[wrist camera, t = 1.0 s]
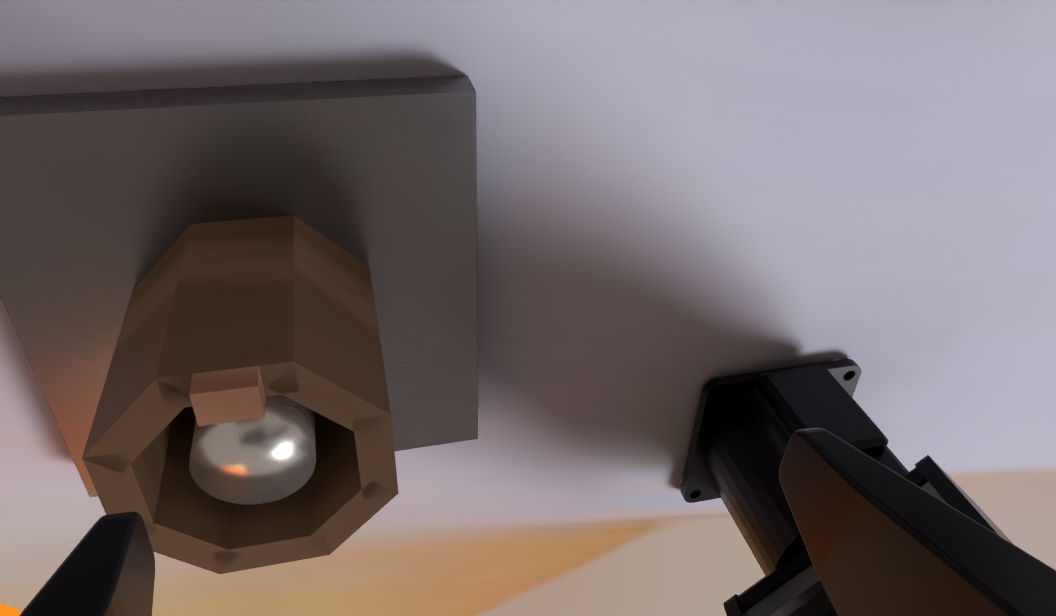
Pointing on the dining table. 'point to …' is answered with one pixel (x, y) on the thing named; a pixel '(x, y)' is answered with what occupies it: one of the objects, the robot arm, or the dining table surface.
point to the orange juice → (9, 611)
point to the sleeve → (246, 391)
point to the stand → (235, 194)
